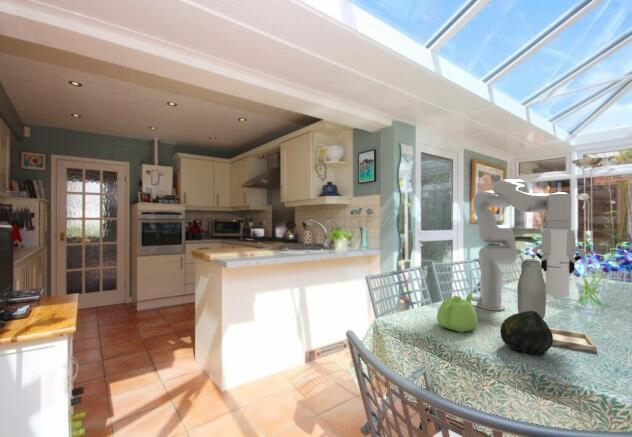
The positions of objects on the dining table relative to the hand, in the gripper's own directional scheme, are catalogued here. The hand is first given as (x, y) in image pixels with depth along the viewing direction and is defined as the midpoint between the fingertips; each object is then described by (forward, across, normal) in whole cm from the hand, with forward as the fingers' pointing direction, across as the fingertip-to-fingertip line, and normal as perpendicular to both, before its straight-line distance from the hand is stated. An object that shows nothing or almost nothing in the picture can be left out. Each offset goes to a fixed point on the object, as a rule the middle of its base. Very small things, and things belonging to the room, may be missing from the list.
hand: (557, 271), depth 118 cm
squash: (+26, -10, -17) cm, 33 cm away
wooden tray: (+26, +3, 0) cm, 26 cm away
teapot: (+26, -34, -7) cm, 43 cm away
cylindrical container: (+9, 0, 0) cm, 9 cm away
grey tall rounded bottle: (+26, -7, +19) cm, 33 cm away
